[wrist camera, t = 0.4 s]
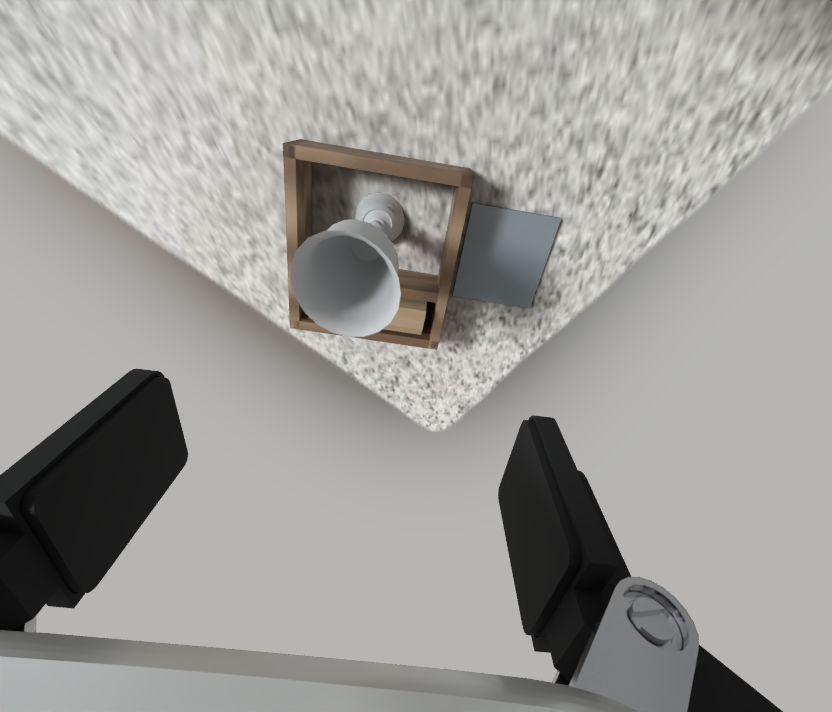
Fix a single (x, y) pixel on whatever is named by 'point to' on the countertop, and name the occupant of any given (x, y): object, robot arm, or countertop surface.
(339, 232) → the chalice
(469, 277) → the mat
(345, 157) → the frame
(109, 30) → the countertop surface
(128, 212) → the countertop surface
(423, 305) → the offcut stack
